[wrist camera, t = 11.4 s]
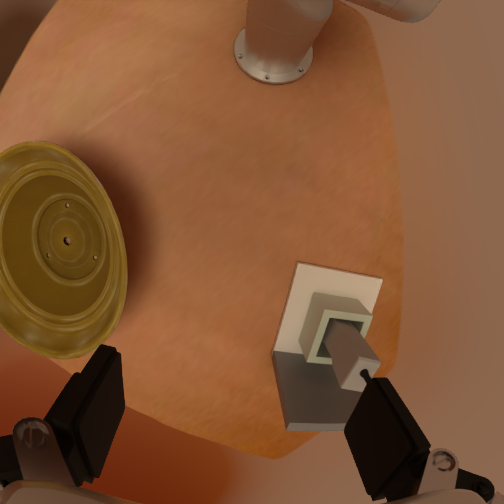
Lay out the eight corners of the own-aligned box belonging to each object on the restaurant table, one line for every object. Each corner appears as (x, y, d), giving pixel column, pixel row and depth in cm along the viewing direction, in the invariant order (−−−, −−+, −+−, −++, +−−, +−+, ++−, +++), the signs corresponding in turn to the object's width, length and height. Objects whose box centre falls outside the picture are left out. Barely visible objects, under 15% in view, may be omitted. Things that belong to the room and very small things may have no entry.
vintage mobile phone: (311, 328, 50) (361, 433, 26) (324, 303, 49) (386, 400, 25) (329, 333, 51) (385, 434, 26) (342, 309, 50) (410, 402, 25)
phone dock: (296, 261, 48) (332, 311, 30) (380, 277, 50) (441, 324, 31) (270, 354, 52) (286, 430, 34) (348, 361, 54) (386, 428, 35)
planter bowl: (173, 163, 43) (148, 157, 30) (141, 342, 51) (119, 387, 38) (21, 139, 40) (-25, 135, 27) (10, 294, 47) (-27, 320, 34)
